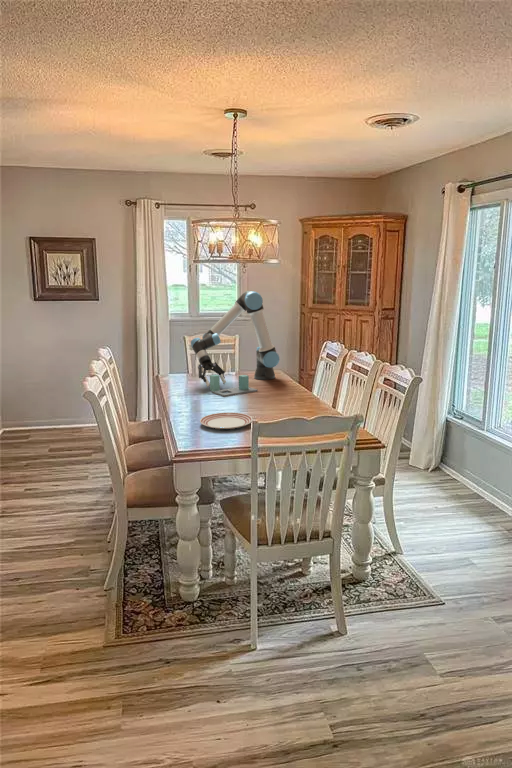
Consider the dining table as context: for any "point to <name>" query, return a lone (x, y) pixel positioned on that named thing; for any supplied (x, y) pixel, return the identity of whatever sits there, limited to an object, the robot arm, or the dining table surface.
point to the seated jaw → (243, 382)
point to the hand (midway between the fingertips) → (216, 384)
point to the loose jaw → (214, 382)
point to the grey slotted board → (233, 391)
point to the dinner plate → (226, 420)
